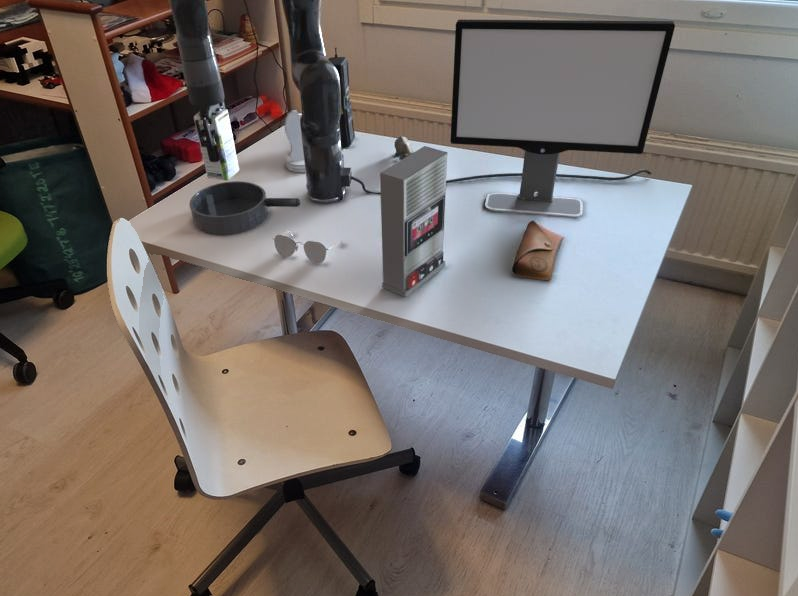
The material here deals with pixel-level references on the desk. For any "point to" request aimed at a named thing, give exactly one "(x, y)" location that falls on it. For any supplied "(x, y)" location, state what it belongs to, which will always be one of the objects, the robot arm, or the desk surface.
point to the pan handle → (282, 202)
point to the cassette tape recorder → (413, 219)
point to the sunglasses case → (536, 253)
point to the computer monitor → (555, 95)
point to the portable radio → (344, 101)
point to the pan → (229, 208)
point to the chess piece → (294, 142)
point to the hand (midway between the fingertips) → (219, 154)
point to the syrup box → (221, 148)
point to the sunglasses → (288, 247)
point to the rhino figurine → (402, 147)
